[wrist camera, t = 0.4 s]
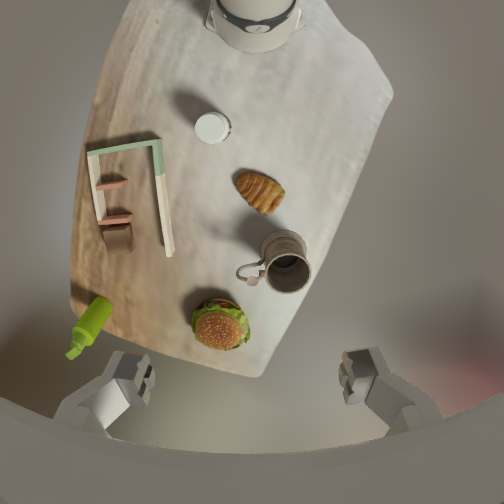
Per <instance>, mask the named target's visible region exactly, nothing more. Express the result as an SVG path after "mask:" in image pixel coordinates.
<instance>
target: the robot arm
mask: <svg viewBox="0 0 504 504" xmlns="http://www.w3.org/2000/svg"><path fill="white" fill-rule="evenodd" d="M211 19H212V20H213V21H212V20H211ZM304 26H305V18H304V15H303V12H302V10H301V7H300V4H299V1H298V0H211V1H210V7H209V11H208V15H207V20H206V28H207V29H208V30H210V31H212V32H215V33H217V34H219V35H220V36H221V37H222V38H223V39H224V40H225V42H227V43H228V44H229V45H230V46H232V47H234V48H236V49H238V50H241V51H244V52H250V53H262V52H268V51H271V50H274V49H276V48H278V47H280V46H281V45H283V44H284V43H285V42H286V41H287V40H288V39H289V37H290V36H291V35H292V34H293V33H294V32H296V31H298V30H300V29H301V28H303V27H304ZM342 360H343V362H342V363H341V364H340V366H339V381H340V385H341V386H342V387H344V391H343V396H344V400H345V403H346V405H352V404H359V403H365V404H366V405H367V406H368V407H369V408H370V409H371V410H372V411H373V412H374V413H375V414H377V415H378V416H379V417H380V418H381V419H382V420H383V421H384V422H385V423H386V424H387V425H388V426H389V427H390V429H389V430H388V432H387V433H386V435H385V436H384V437H383V438H379V439H375V440H370V441H366V442H361V443H356V444H350V445H345V446H339V447H332V448H326V449H317V450H310V451H298V452H287V453H266V454H228V453H226V454H225V453H207V452H194V451H184V450H176V449H168V448H161V447H154V446H148V445H143V444H138V443H132V442H128V441H123V440H118V439H114V438H111V436H110V435H109V434H108V433H107V431H106V430H105V429H106V428H107V427H108V426H109V425H110V424H111V423H112V422H113V421H114V420H115V419H116V418H117V417H118V416H119V415H120V414H121V413H122V412H124V411H125V410H126V409H127V408H128V407H129V405H137V406H146V407H147V405H148V402H149V399H150V396H151V395H150V393H149V390H150V389H151V388H153V386H154V383H155V373H154V369H153V367H152V366H151V365H149V361H150V359H149V357H148V355H146V354H139V353H131V352H122V351H115V352H114V353H113V355H112V357H111V359H110V361H109V362H108V364H107V366H106V369H105V370H104V372H103V374H102V376H98V377H97V378H95V379H94V380H92V381H91V382H89V383H88V384H86V385H85V386H83V387H81V388H80V389H79V390H77V391H76V392H74V393H72V394H71V395H69V396H68V397H67V398H65V399H63V400H62V402H61V404H60V406H59V408H58V410H57V412H56V414H55V416H54V418H53V420H52V419H49V418H47V417H44V416H42V415H39V414H37V413H35V412H32V411H30V410H28V409H25V408H23V407H21V406H19V405H17V404H14V403H12V402H10V401H8V400H6V399H4V398H0V504H504V393H502V394H499V395H496V396H494V397H492V398H490V399H489V400H486V401H484V402H482V403H480V404H478V405H476V406H473V407H471V408H469V409H467V410H464V411H462V412H460V413H457V414H455V415H452V416H450V417H447V418H444V419H443V418H442V416H441V414H440V411H439V409H438V407H437V405H436V403H435V401H434V399H433V397H431V396H429V395H428V394H426V393H425V392H423V391H422V390H420V389H419V388H417V387H415V386H414V385H412V384H411V383H409V382H407V381H406V380H405V379H403V378H402V377H400V376H398V375H397V374H395V373H391V372H390V370H389V368H388V366H387V363H386V361H385V359H384V357H383V355H382V353H381V351H380V349H379V347H377V346H376V347H369V348H362V349H355V350H347V351H344V352H343V354H342Z"/></svg>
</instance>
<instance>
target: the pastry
mask: <svg viewBox="0 0 504 504" xmlns="http://www.w3.org/2000/svg"><path fill="white" fill-rule="evenodd" d="M236 186H237V190H238V191H239V192H240V194H241V196H242V197H243V198H244V199H245V200H246V201H247V202H248V204H249V206H252V207H254V208H255V209H257V211H258V212H259V213H263V214H264V215H266V216H268V215H270V214H271V213H273V212H274V211H275V210H276V208H277V207H278V206H279V205H280V203H281V201H282V200H283V198H284V196H285V191H284V190H283V188H282V187H281V185H280V184H279V183H277V182H275V181H273V180H271V179H270V178H268V177H265V176H261V175H259V174H256V173H242V174H241V175H240V176H239V178H238V180H237V181H236Z"/></svg>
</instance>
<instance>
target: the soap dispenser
mask: <svg viewBox="0 0 504 504" xmlns="http://www.w3.org/2000/svg"><path fill="white" fill-rule="evenodd" d="M112 311H113V307H112V305H111V303H110V302H109V301H108V300H107V299H106V298H104V297H96V298H95V299H94V301H93V302H92V303H91V305H90V306H89V307H88V309H87V310H86V311H85V313H84V314H83V315H82V317H81V318H80V320H79V321H78V322H77V324H76V325H75V327H74V328H73V330H72V333H73V336H74V337H73V339H72V340H71V342H70V344H71V346H72V347H71V348H70V350H69V351H68V352H67V353H66V354H65V355H66V356H67V357H68V358H69V359H70V360H72V359H74V358H75V357H76V356H78V355H79V354H80V353H81V351H82V350H83V348H84V346H85V345H86V346H90V345H92V343H93V342H94V340H95V338H96V337H97V335H98V333H99V332H100V330H101V329H102V327H103V325H104V324H105V322H106V321H107V319H108V317H109V316H110V314H111V313H112Z"/></svg>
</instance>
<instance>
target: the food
mask: <svg viewBox="0 0 504 504" xmlns="http://www.w3.org/2000/svg"><path fill="white" fill-rule="evenodd" d="M192 331H193V333H194V334H195V338H196V340H197V341H199V342H201V343H202V344H204V345H205V346H207V347H210V348H213V349H219V350H223V349H224V350H225V351H227V350H230V349H233V348H237V347H239V346H240V345H241V344H242V343H243V342H245V343H246V342H247V340H248V339H249V338H250V329H249V324H248V319H247V317H246V315H244V313H243V311H242V309H241V308H240V307H239V306H238V305H236V304H235V303H234V302H233V301H229V300H226V299H223V298H217V299H211V300H208V301H206V302H204V303H201V304H200V306H199V307H198V308H197V309H196V311H195V312H193V315H192Z"/></svg>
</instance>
